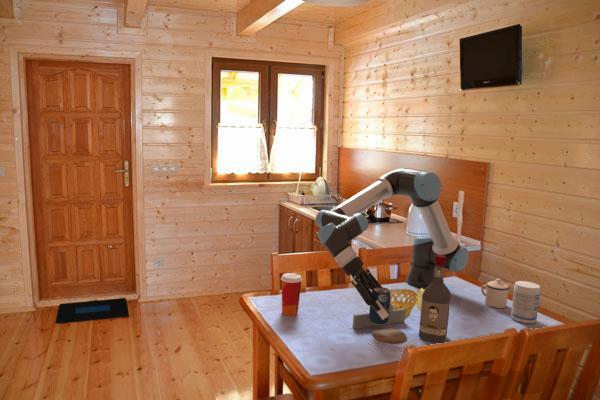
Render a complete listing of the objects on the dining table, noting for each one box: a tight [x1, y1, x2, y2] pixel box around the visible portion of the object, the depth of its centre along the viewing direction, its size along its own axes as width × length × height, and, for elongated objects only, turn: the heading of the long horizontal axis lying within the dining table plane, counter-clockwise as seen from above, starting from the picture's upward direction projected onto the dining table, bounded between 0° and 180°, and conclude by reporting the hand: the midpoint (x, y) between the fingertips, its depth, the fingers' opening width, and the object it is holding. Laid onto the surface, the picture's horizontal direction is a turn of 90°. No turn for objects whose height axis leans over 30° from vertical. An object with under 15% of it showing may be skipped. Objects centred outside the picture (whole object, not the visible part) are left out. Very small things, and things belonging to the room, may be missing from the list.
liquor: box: [418, 255, 452, 344], centre depth 185 cm, size 9×9×30 cm
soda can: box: [368, 286, 392, 326], centre depth 186 cm, size 7×7×12 cm
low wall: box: [352, 308, 407, 330], centre depth 196 cm, size 1×22×5 cm, turn 114°
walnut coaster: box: [371, 327, 407, 344], centre depth 187 cm, size 12×12×1 cm
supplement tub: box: [510, 280, 541, 325], centre depth 209 cm, size 10×10×15 cm
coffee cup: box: [280, 272, 303, 317], centre depth 202 cm, size 8×8×15 cm
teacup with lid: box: [480, 278, 510, 309], centre depth 226 cm, size 12×9×12 cm
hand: (389, 314), depth 185 cm, fingers closed on soda can, 7 cm apart
